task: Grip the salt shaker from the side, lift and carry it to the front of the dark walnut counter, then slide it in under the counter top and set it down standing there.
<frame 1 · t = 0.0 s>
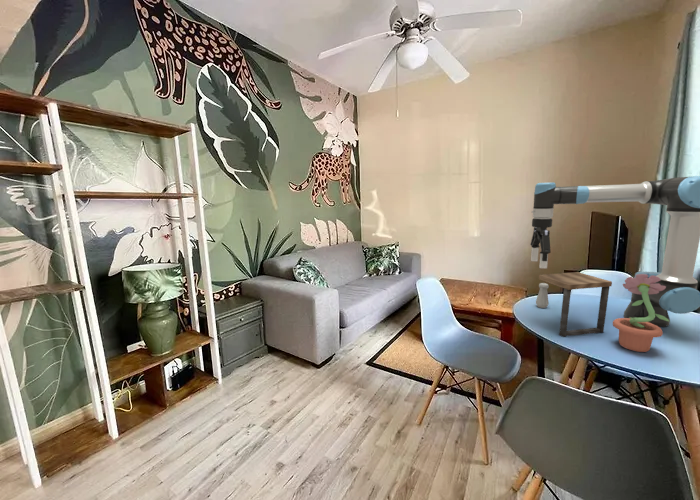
hand: (538, 264, 134), 28 cm above the table, tool pointing down, fingers open, 13 cm apart
salt shaker: (541, 307, 156), on the table
decorative flower: (635, 348, 114), on the table
walnut counter: (568, 327, 133), on the table
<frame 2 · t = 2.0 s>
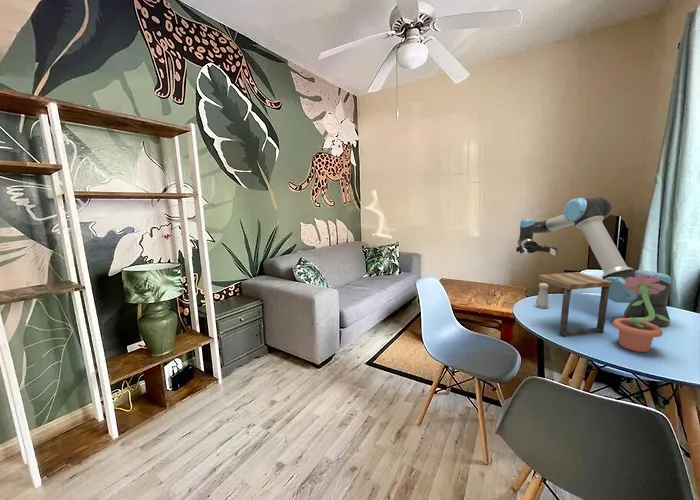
hand: (540, 252, 160), 28 cm above the table, tool horizontal, fingers open, 13 cm apart
nothing on the table moved.
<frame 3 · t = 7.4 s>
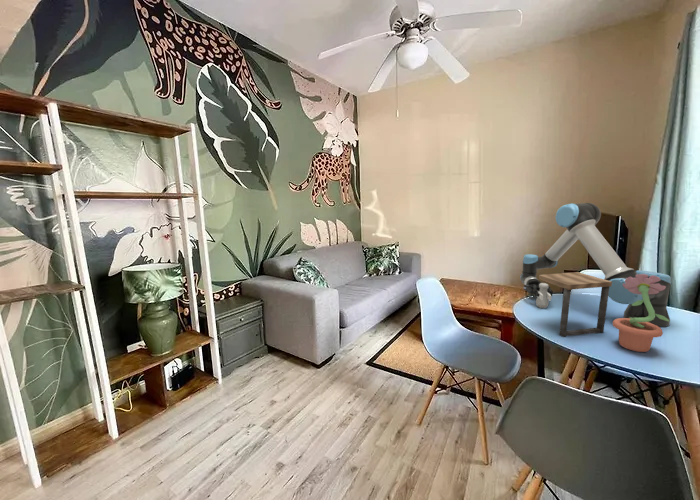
hand: (546, 297, 150), 7 cm above the table, tool horizontal, fingers closed on salt shaker, 3 cm apart
salt shaker: (541, 307, 156), on the table, touching gripper
everything else where it was.
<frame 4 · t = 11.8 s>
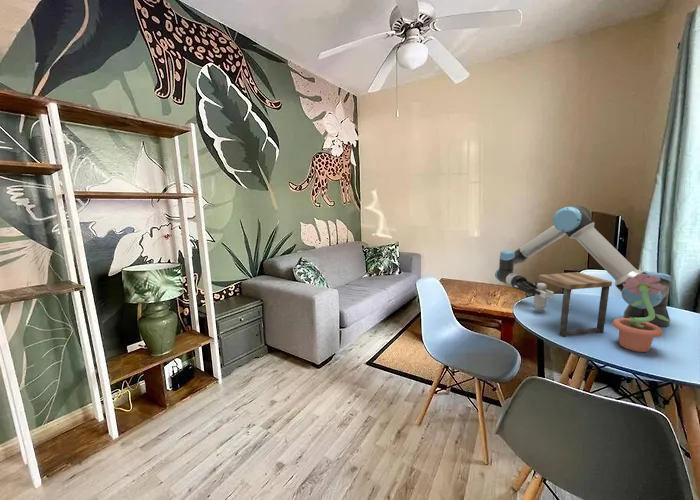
hand: (549, 295, 142), 11 cm above the table, tool horizontal, fingers closed on salt shaker, 3 cm apart
salt shaker: (539, 308, 149), point 2 cm above the table, touching gripper
everything else where it was.
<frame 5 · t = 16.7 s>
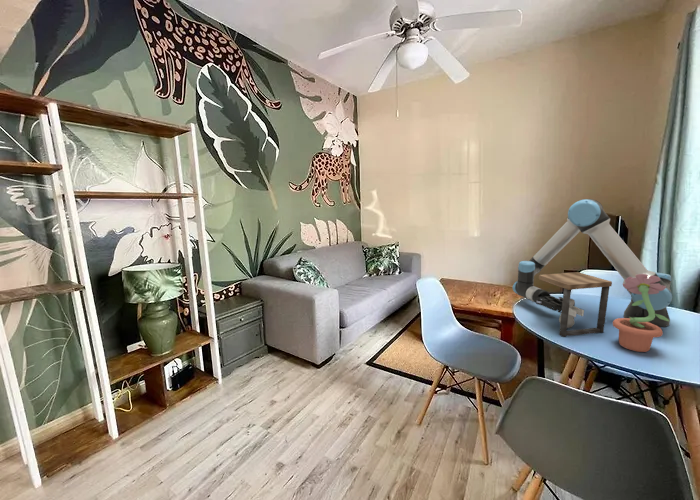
hand: (579, 313, 127), 8 cm above the table, tool horizontal, fingers closed on salt shaker, 3 cm apart
salt shaker: (566, 326, 134), on the table, touching gripper
everything else where it was.
when the fingers open (8 cm above the table, at t = 16.8 s): salt shaker stays where it is, on the table.
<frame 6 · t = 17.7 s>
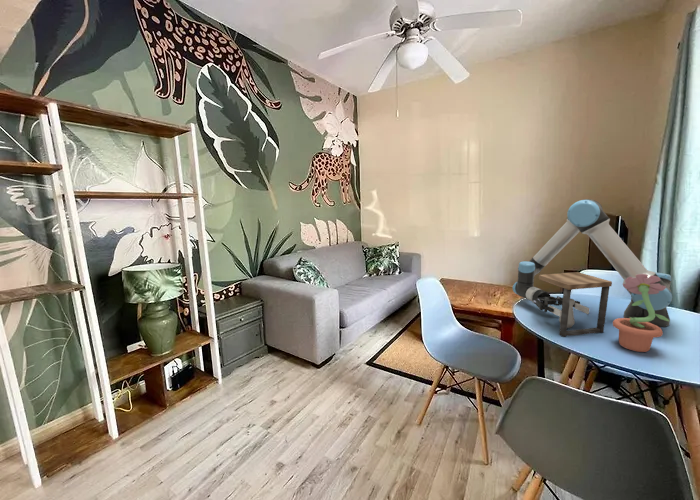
hand: (574, 312, 129), 8 cm above the table, tool horizontal, fingers open, 13 cm apart
salt shaker: (566, 326, 134), on the table
everything else where it was.
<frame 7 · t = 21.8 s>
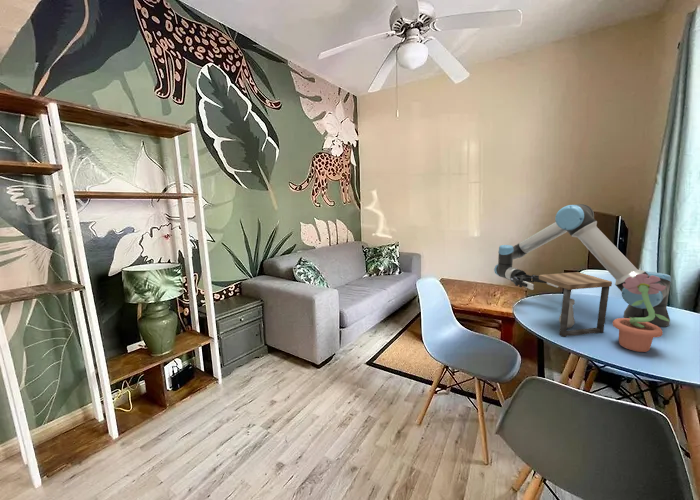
hand: (545, 286, 144), 15 cm above the table, tool horizontal, fingers open, 13 cm apart
nothing on the table moved.
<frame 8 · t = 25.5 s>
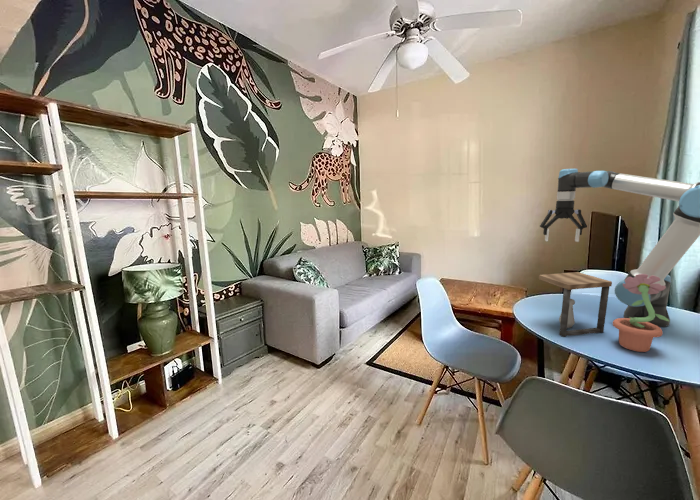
hand: (561, 241, 153), 35 cm above the table, tool pointing down, fingers open, 13 cm apart
nothing on the table moved.
at the end: salt shaker inside the target area on the walnut counter (1.6 cm from its centre), point 0.0 cm above the walnut counter's base; salt shaker tilted 0°; the gripper is holding nothing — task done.
